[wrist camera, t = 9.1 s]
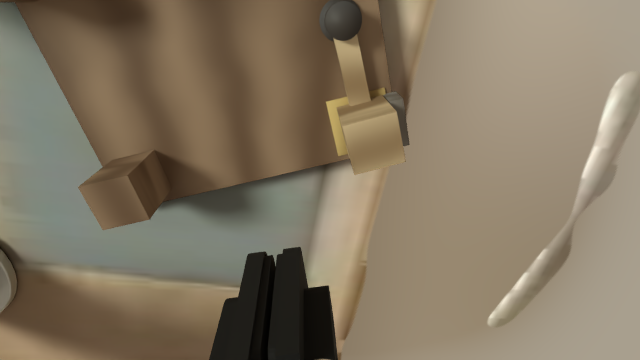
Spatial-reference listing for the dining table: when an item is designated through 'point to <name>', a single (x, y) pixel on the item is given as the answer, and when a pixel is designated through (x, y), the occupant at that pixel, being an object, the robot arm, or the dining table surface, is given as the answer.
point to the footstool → (201, 91)
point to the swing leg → (362, 99)
